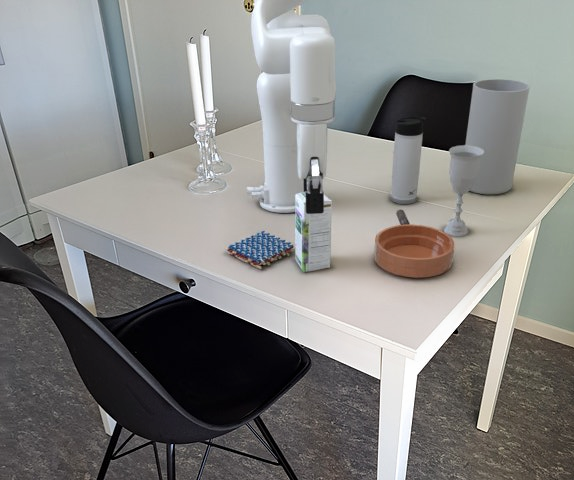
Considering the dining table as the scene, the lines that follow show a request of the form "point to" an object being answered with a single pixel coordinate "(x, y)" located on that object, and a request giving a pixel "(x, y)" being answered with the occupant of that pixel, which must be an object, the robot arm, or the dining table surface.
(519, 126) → the cylinder vase
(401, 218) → the pan handle
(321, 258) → the syrup box
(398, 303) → the dining table surface
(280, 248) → the woven mat
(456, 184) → the chalice
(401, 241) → the pan
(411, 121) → the travel mug
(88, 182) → the dining table surface
